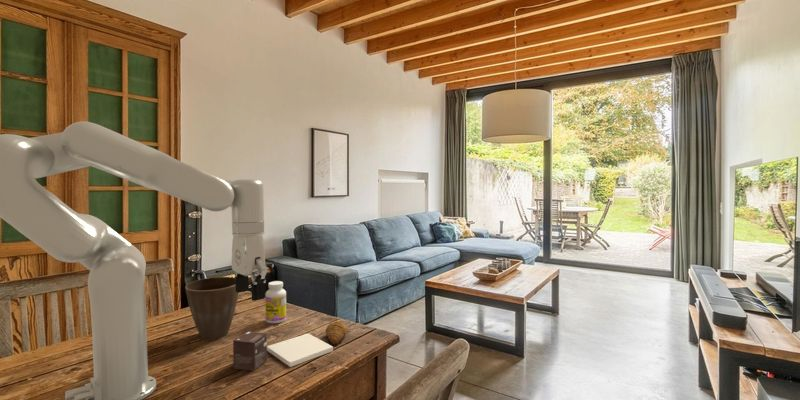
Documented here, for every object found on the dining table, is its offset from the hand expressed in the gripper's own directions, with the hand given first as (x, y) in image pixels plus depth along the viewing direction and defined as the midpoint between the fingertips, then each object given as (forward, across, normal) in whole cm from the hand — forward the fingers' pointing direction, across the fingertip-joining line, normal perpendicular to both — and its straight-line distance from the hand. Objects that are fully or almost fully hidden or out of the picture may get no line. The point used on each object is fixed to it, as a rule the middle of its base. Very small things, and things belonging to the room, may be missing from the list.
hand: (250, 295), depth 97 cm
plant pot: (+18, -26, 0) cm, 32 cm away
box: (+18, 0, 0) cm, 18 cm away
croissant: (+19, +1, +26) cm, 32 cm away
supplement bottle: (+18, -24, +19) cm, 36 cm away
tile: (+18, +2, +13) cm, 22 cm away
